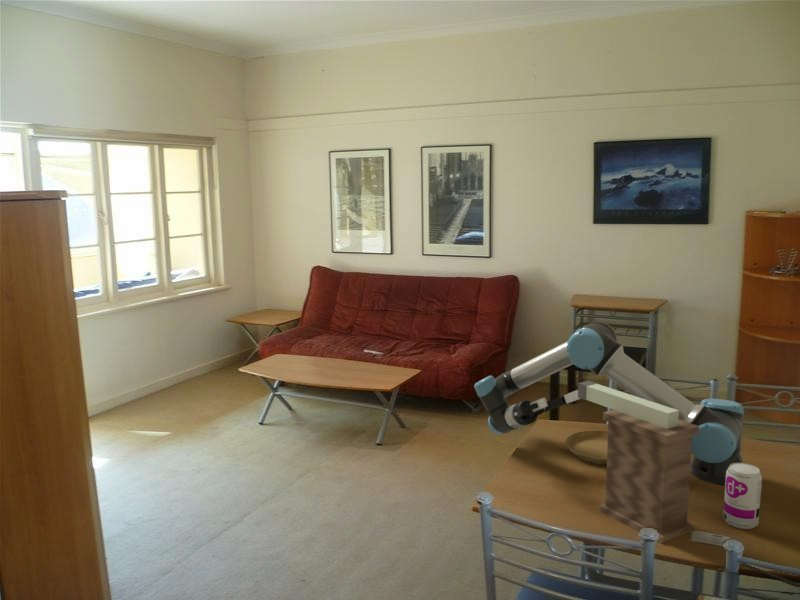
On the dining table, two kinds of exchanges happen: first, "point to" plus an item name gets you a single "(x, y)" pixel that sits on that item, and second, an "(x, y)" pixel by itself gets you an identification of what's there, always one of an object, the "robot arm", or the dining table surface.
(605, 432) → the plant saucer
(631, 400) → the bar
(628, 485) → the stand
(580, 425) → the dining table surface
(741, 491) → the supplement can
